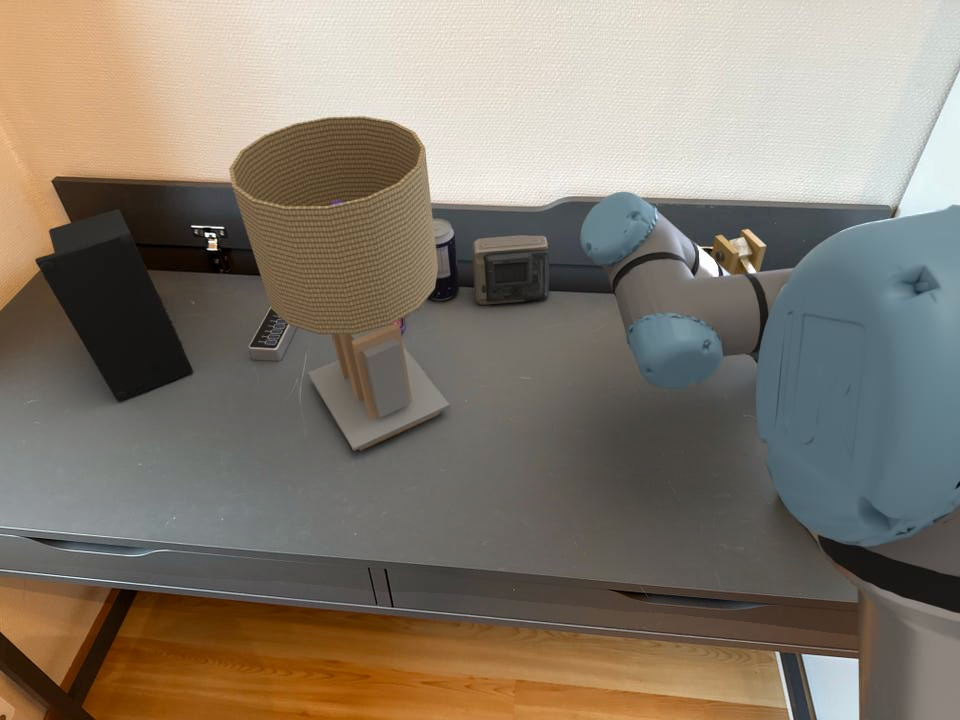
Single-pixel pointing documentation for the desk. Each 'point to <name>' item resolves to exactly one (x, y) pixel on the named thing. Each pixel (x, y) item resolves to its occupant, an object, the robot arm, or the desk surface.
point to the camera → (511, 269)
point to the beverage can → (445, 261)
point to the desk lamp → (347, 258)
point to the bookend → (113, 304)
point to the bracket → (737, 252)
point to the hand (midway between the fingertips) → (784, 360)
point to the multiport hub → (271, 338)
